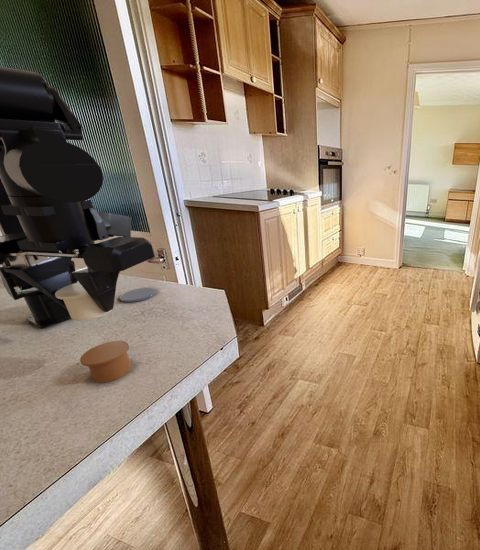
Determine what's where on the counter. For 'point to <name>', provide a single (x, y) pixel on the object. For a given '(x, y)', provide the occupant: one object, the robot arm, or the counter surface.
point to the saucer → (137, 295)
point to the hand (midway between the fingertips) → (91, 309)
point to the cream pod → (79, 302)
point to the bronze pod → (107, 361)
